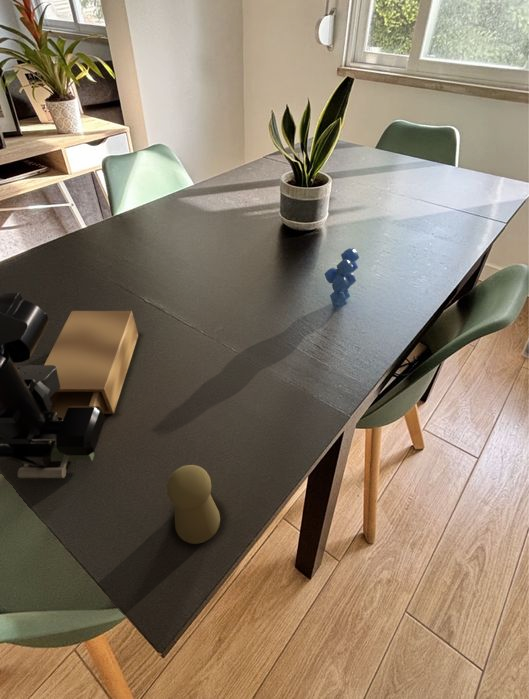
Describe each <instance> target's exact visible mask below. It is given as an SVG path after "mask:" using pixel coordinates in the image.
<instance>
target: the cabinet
mask: <svg viewBox="0 0 529 699" xmlns="http://www.w3.org/2000/svg"><path fill="white" fill-rule="evenodd" d="M138 338H139V333H138V328H137V325H136V321H135V317H134V314H133V310H71V312H70V314H69V316H68V318H67V320H66V322H65V323H64V325H63V327H62V329H61V330H60V333H59V336H57V339H56V341H55V343H54V344H53V347H52V349H51V351H50V352H49V354H48V357H47V358H46V361H45V363H44V364H43V365H54V366H56V369H57V373H58V378H59V382H60V389H59V390H57V391H56V392H102V395H103V397H104V400H105V402H106V404H107V407H106V410H105V413H104V415H105V414H106V415H114V414H115V411H116V408H117V404H118V402H119V398H120V395H121V392H122V389H123V385H124V383H125V380H126V376H127V373H128V370H129V367H130V363H131V360H132V358H133V354H134V350H135V347H136V345H137V342H138Z"/></svg>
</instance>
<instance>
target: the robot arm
mask: <svg viewBox="0 0 529 699" xmlns="http://www.w3.org/2000/svg"><path fill="white" fill-rule="evenodd" d="M49 322H50V320H49V316H48V314H47V312H46V311H43V310H42V309H41V307H39V306H38V305H37V304H35V303H33V302H31V301H29V300H26V299H24V298H23V297H22V295H21V292H2V293H1V295H0V459H1V460H7V461H12V462H16V463H21V464H23V465H24V464H28V465H31V466H32V467H50V465H51V462H52V461H51V452H52V450H53V448H54V445H55V443H56V448H57V449H58V451H59V452H60V453H63V454H65V455H90V454H91V453H95V450H96V448H97V446H98V445H97V444H98V441H99V438H100V435H101V432H102V430H103V426H104V423H105V420H106V417H105V414H103V412H102V410H101V409H100V408H99V406H72V407H68V409H67V412H66V414H65V416H64V419H62V418H61V417H57V415H58V414H57V412H49V410H50V408H51V406H52V403H51V401H50V399H49V398H50V397H51V396H52V395H53V394H54V393H55V392H56V391H57V390H59V389H60V382H59V378H58V373H57V369H56V366H54V365H44V364H27V365H24V366H23V365H22V366H17V365H16V363H17V364H19V363H23V362H26V361H28V360H30V359H31V357H32V355H33V353H34V352H35V350H36V348H37V346H38V345H39V342H40V340H41V339H42V337H43V335H44V334H45V331H46V330H47V328H48V326H49Z"/></svg>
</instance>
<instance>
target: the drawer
mask: <svg viewBox="0 0 529 699" xmlns="http://www.w3.org/2000/svg"><path fill="white" fill-rule="evenodd" d="M49 399H50V401H51V403H52V406H51V408H50V410H49V412H57V414H58V415H57V417H61V418H62V419H64V416H65V414H66V412H67V409H68V407H72V406H99V408H100V409H101V410H102V412H103V414H104V413H105V410H106V407H107V404H106V402H105V400H104V397H103V395H102V392H55V393H54V394H53V395H52V396H51V397H50V398H49ZM104 415H105V414H104ZM94 457H95V452H93V453H91V454H90V455H65V454H63V453H60V452H59V451H58V449H57V448H56V443H55V445H54V448H53V450H52V452H51V462H60V465H59V466H58V467H57V466H56V467H54V466H53V467H50V466H49V467H36V466H32V465H28V464H24V463H23V466H22V467H20V468H18V471H17V477H18V478H19V479H64V478H65V477H66V476H67V466H68V463H69V462H93V461H94ZM31 466H32V467H31Z"/></svg>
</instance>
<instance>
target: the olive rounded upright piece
mask: <svg viewBox="0 0 529 699" xmlns="http://www.w3.org/2000/svg"><path fill="white" fill-rule="evenodd" d="M211 481H212V480H211V477H210V475H209V473H208V472H207V471H206V470H205V469H204V468H203V467H201V466H199V465H196V464H187V465H182V466H180V467H178V468H177V469H175V471H174V472H172V473H171V475H170V476H169V478H168V481H167V485H166V491H167V492H166V494H167V496H168V498H169V501H170V502H171V503H172V505H174V527H175V528H174V529H175V531H176V533H177V536H178V537H179V539H181V540H182V541H184V542H186V543H188V544H194V545H198V544H201V543H203V544H204V543H205V542H207V541H209V540H211V539H212V538H213V536H214V535H216V534H217V532H218V529H219V527H220V523H221V515H220V511H219V509H218V507H217V505H216V503H215V501H214V498H213V497H212V495H211V491H212V482H211Z"/></svg>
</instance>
